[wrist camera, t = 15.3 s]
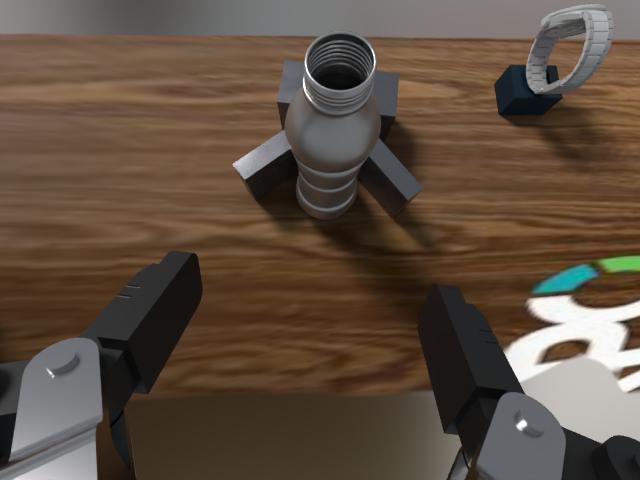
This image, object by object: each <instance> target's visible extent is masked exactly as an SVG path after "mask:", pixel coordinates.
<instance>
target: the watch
mask: <svg viewBox="0 0 640 480" xmlns="http://www.w3.org/2000/svg"><path fill="white" fill-rule="evenodd" d="M605 10H606V7H605V6H603V5H598V4H589V5H580V6H574V7H569V8H565V9H562V10H559V11H556V12H554V13H551V14H549V15H548V16H546V17H545V18H544V19H543V20H542V22H541V27H540V28H539V30H538V32H537V33H536V35H535V41H534V44H533V45H532V48H531V50H530V54H529V56H528V60H527V65H510V66H509V67H508V68H507V69H506V71H505V72H504V73H503V74H502V75H501V77H500V78H499V79H498V80H497V82H496V83H495V84H494V86H495V93H496V100H497V106H498V113H499V114H501V115H542V114H544V113H545V112H546V111H547V110H548V109H550V108H551V107H552V106H553V105H555V104H556V103H557V102H558V101H559V100H561V99H562V98H563V97H562V93H566V92H569V91H572V90H575V89H577V88H579V87H581V86H582V84H583V83H584V82H586V80H588V79H589V78H590V77H591V76H592V75H593V73H595V72H596V70H597V69H598V68H599V66H600V65H601V64H600V63H602V62H603V60H604V58H605V56H606V54H607V52H608V50H609V48H610V45H611V42H612V38H613V33H614V29H613V28H614V23H613V20H612V13H611V12H606V11H605ZM585 32H586V40H587V41H585V44H584V48H583V53H582V54H581V57H580V59H579V63H578V64H577V65H576V67H575V68H574V70H573V73H571V74H570V75H568V76H567V77H565V78H564V79H562V80H559V77H558V72H557V67H556V66H548V65H547V63H546V62H548V59H549V56H550V54H546V53H551V51H552V49H553V47H554V44H555V43H556V42H557V40H558V39H559V37H560V39H563V38H566V37H568V36H573V35H578V34H582V33H585ZM588 55H598V56H588ZM534 56H543V57H534Z"/></svg>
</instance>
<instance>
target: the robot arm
mask: <svg viewBox="0 0 640 480" xmlns="http://www.w3.org/2000/svg"><path fill="white" fill-rule="evenodd" d="M201 297H202V281H201V274H200V268H199V261H198V257H197V255H196V254H195V253H189V252H181V251H170V252H169V253H168V254H167V255H166V257H165V258H164V259H163V260H162V261H161V262H160V264H151V265H150V266H148V267H146V268H145V269H143V270H141V271H140V272H138V273H137V274H136V275H135V276H134V277H133V278H132V280H131V281H130V282H129V283H128V284H127V287H124V288H123V289H122V290H121V292H120V293H119V294H118V297H115V298H114V299H113V300H112V301H111V302H110V304H109V305H108V306H107V307H106V308H105V309H104V310H103V311H102V312H101V313H100V314H99V316H98V317H97V318H96V319H95V320H94V321H93V322H92V323H91V324H90V325H89V326H88V328H87V329H86V330H85V331H84V332H83V333H82V334H81V335H80V336H79V337H78V338H72V339H67V340H63V341H61V342H58V343H56V344H54V345H51V346H50V347H48V348H46V349H44V350H43V351H42V352H40V353H39V354H38V355H36V356H35V357H34V358H33V359H30V360H24V361H17V362H10V363H4V364H0V480H137V478H136V473H135V466H134V459H133V450H132V442H131V434H130V427H129V419H128V411H127V406H126V403H127V402H128V400H129V399H130V397H131V395H132V394H133V392H134V393H141V394H149V392H150V390H151V388H152V387H153V385H154V383H155V381H156V380H157V378H158V376H159V374H160V373H161V371H162V369H163V367H164V365H165V364H166V362H167V360H168V358H169V357H170V355H171V353H172V351H173V350H174V348H175V346H176V344H177V343H178V341H179V339H180V337H181V335H182V334H183V332H184V330H185V328H186V327H187V325H188V323H189V321H190V320H191V318H192V316H193V314H194V312H195V311H196V309H197V307H198V305H199V303H200V301H201ZM418 333H419V337H420V341H421V345H422V349H423V353H424V357H425V361H426V365H427V369H428V372H429V376H430V380H431V384H432V388H433V392H434V396H435V400H436V403H437V407H438V411H439V415H440V419H441V423H442V427H443V431H444V433H446V434H454V435H459V437H460V441H461V444H462V446H461V447H460V449H459V451H458V453H457V455H456V458H455V461H454V463H453V465H452V467H451V470H450V472H449V474H448V477H447V479H446V480H640V442H639V441H637V440H635V439H632V438H630V437H626V436H620V435H617V436H613V437H611V438H609V439H608V440H607V441H605V442H604V443H602V444H601V443H599V442H597V441H594V440H592V439H590V438H587V437H585V436H582V435H580V434H578V433H575V432H573V431H570V430H568V429H566V428H564V427H562V426H560V424H559V422H558V421H557V419H556V418H555V417H554V415H553V414H552V413H551V412H550V411H549V410H548V409H547V408H546V407H545V406H543V405H542V404H541V403H539V402H538V401H537V400H535V399H533V398H531V397H529V396H527V395H526V394H525V393H524V391H523V389H522V387H521V385H520V383H519V381H518V379H517V377H516V375H515V373H514V372H513V370H512V368H511V366H510V364H509V362H508V360H507V358H506V356H505V354H504V352H503V350H502V348H501V347H500V346H499V345H498V341H497V339H496V337H495V335H494V334H492V329H491V327H490V325H489V323H488V322H487V320H486V318H485V316H484V315H483V314H482V313H481V312H480V311H479V310H478V309H477V308H476V307H475V306H474V305H473V304H466V301H465V299H464V297H463V295H462V293H461V291H460V289H459V288H458V287H455V286H447V285H439V284H433V285H432V286H431V288H430V290H429V293H428V295H427V298H426V300H425V303H424V305H423V307H422V310H421V312H420V315H419V319H418Z"/></svg>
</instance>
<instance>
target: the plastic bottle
mask: <svg viewBox="0 0 640 480" xmlns="http://www.w3.org/2000/svg"><path fill="white" fill-rule="evenodd" d="M376 67H377V58H376V53H375V50H374V48H373V47H372V45H371V44H370V43H369V42H368V41H367V40H366V39H365V38H364V37H362V36H361V35H358V34H356V33H353V32H350V31H333V32H328V33H326V34H324V35H321V36H320V37H318V38H317V39H316V40H315V41H314V42H313V43H312V44H311V45H310V47H309V48H308V50H307V52H306V55H305V61H304V75H303V87H302V88H301V89H300V90H299V91H298V92H297V93H296V94H295V96H294V97H293V99H292V100H291V103H290V105H289V108H288V111H287V114H286V119H285V133H286V137H287V141H288V144H289V147H290V149H291V151H292V153H293V155H294V157H295V159H296V161H297V164H298V168H299V176H298V178H297V184H296V196H297V200H298V202H299V204H300V206H301V207H302V208H303V209H304V210H305V212H307V213H308V214H309V215H310V216H312V217H314V218H317V219H322V220H329V219H334V218H337V217H339V216H341V215H342V214H343V213H345V212H346V211H347V210H348V209H349V208H350V207H351V206H352V204H353V203H354V201H355V198H356V196H357V188H358V183H357V174H358V172H359V170H360V168H361V166H362V164H363V163H364V162H365V160H366V159H367V158H368V156H369V155H370V153H371V152H372V150H373V148H374V147H375V145H376V143H377V141H378V138H379V135H380V130H381V118H380V109H379V106H378V103H377V100H376V98H375V97H374V95H373V93H372V90H373V85H374V76H375V73H376Z"/></svg>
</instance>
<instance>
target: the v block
mask: <svg viewBox="0 0 640 480" xmlns="http://www.w3.org/2000/svg"><path fill="white" fill-rule="evenodd" d="M303 75H304V62H299V61H291V60H284V66H283V72H282V78H281V83H280V89H279V95H278V101H277V103H278V108H279V114H280V120H281V125H282V131H281V132H280V133H278V134H277V135H275V136H274V137H272V138H271V139H269V140H268V141H266V142H265V143H263V144H262V145H260V146H259V147H257V148H256V149H255V150H253V151H252V152H250V153H249V154H247V155H246V156H244V157H243V158H241V159H240V160H238V161H237V162H235V163H234V164H233V166H234V167H235V169H236V171H237V173H238V174H239V176H240V178H241V179H242V181H243V183H244V184H245V186H246V188H247V189H248V190H249V192H250V193H251V194H252V196H253V197H254V198H255V200H256V201H257V200H258V199H260V198H261V197H263V196H264V195H266V194H267V193H268V192H270V191H271V190H273V189H274V188H275V187H277V186H278V185H280V184H281V183H283V182H284V181H285V180H287V179H288V178H290V177H291V176H292V175H294V174H295V173H297V172H298V171H299V168H298V164H297V161H296V159H295V157H294V155H293V153H292V151H291V149H290V147H289V144H288V141H287V137H286V133H285V119H286V114H287V111H288V108H289V105H290V103H291V100H292V99H293V97H294V96H295V94H296V93H297V92H298V91H299V90H300V89H301V88H302V87H303ZM398 82H399V74H396V73H388V72H380V71H376V73H375V76H374V85H373V90H372V93H373V95H374V97H375V98H376V100H377V103H378V106H379V109H380V118H381V130H380V135H379V138H378V141H377V143H376V145H375V147H374V148H373V150H372V152H371V153H370V155H369V156H368V158H367V159H366V160H365V162H364V163H363V164H362V166H361V168H360V170H359V172H358V174H357V178H358V179H359V180H360V181H361V183H362V184H363V185H364V186H365V187H366V188H367V190H368V191H369V192H370V193H371V194H372V196H373V197H374V198H375V199H376V200H377V201H378V203H379V204H380V205H381V206H382V207H383V208H384V210H385V211H386V212H387V213H388V214H389V216H390V217H391V218H392V217H393V216H394V215H396V214H397V213H398V212H400V211H401V210H402V209H403V208H405V207H406V206H407V205H408V204H409V203H410V202H411V200H412V199H413V198H414V197H415V196H416V195H417V194H418V193H419V192H420V191H421V190H422V189H423V187H422V186H421V185H420V184H419V183H418V182H417V180H416V179H415V178H414V177H413V176H412V175H411V174H410V173H409V171H408V170H407V169H406V168H405V167H404V166H403V165H402V163H401V162H400V161H399V160H398V159H397V158H396V157H395V156H394V154H393V153H392V152H391V151H390V150H389V149H388V148H387V147H386V145H385V144H384V142H385V139H386V137H387V135H388V133H389V130H390V128H391V126H392V124H393V121H394V119H395V117H396V107H397V94H398Z"/></svg>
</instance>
